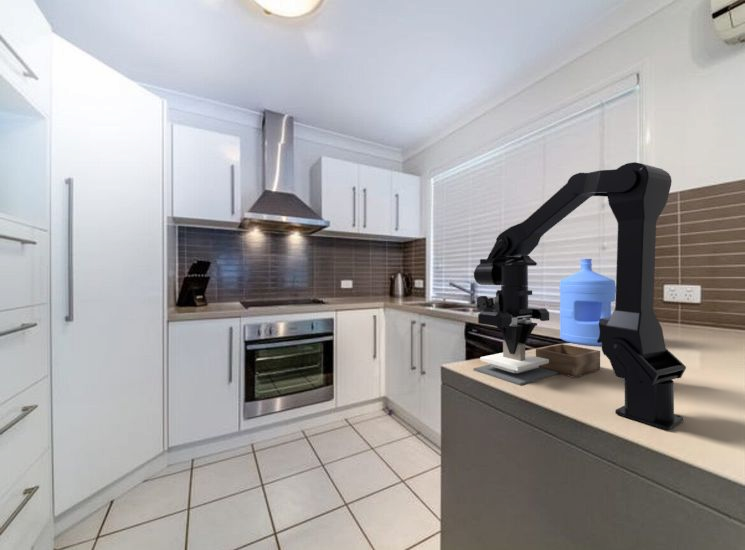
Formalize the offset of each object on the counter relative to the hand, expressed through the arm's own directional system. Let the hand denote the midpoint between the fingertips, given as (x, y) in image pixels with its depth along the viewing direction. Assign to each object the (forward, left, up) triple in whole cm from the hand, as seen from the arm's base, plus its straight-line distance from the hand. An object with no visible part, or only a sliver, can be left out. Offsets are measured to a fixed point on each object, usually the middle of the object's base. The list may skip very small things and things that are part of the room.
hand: (514, 353), depth 71 cm
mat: (0, 0, -4) cm, 4 cm away
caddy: (+13, -5, -4) cm, 15 cm away
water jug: (+51, +8, -5) cm, 52 cm away
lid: (0, 0, -3) cm, 3 cm away
